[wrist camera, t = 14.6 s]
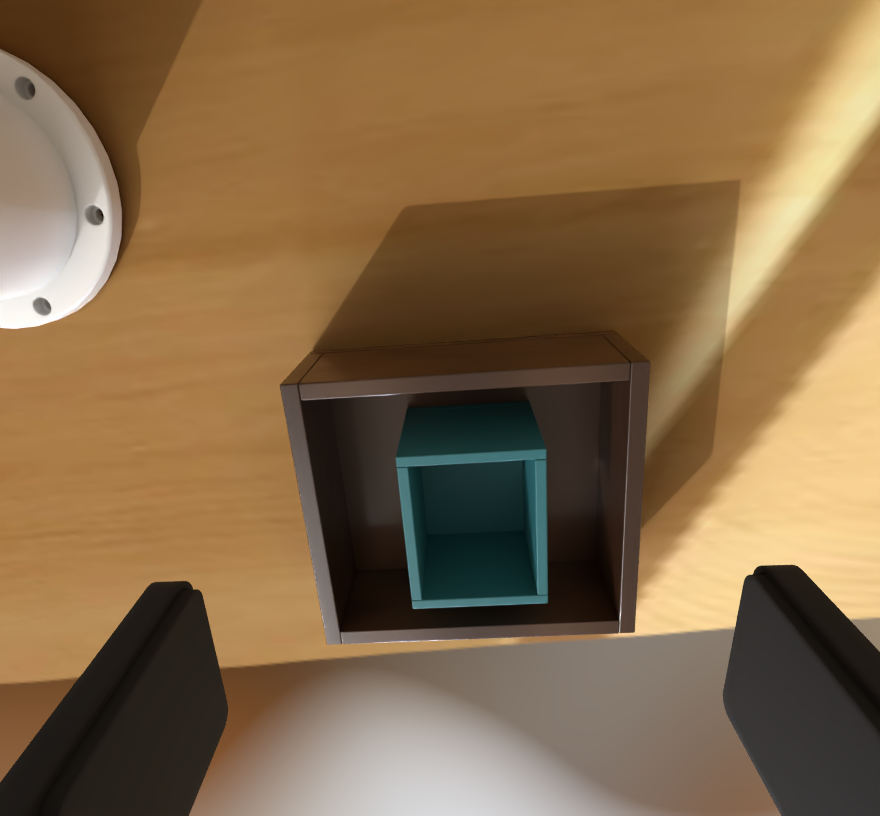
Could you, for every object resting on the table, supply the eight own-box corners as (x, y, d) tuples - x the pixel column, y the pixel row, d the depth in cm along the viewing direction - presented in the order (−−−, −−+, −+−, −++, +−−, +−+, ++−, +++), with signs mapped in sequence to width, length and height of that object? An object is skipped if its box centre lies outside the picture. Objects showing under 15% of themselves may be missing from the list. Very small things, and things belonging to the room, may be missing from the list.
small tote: (532, 532, 32) (548, 603, 26) (420, 537, 32) (412, 609, 27) (529, 400, 29) (546, 448, 24) (406, 407, 30) (395, 457, 24)
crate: (346, 576, 34) (326, 645, 29) (310, 350, 29) (279, 384, 24) (607, 564, 33) (635, 633, 28) (615, 330, 28) (650, 361, 23)
